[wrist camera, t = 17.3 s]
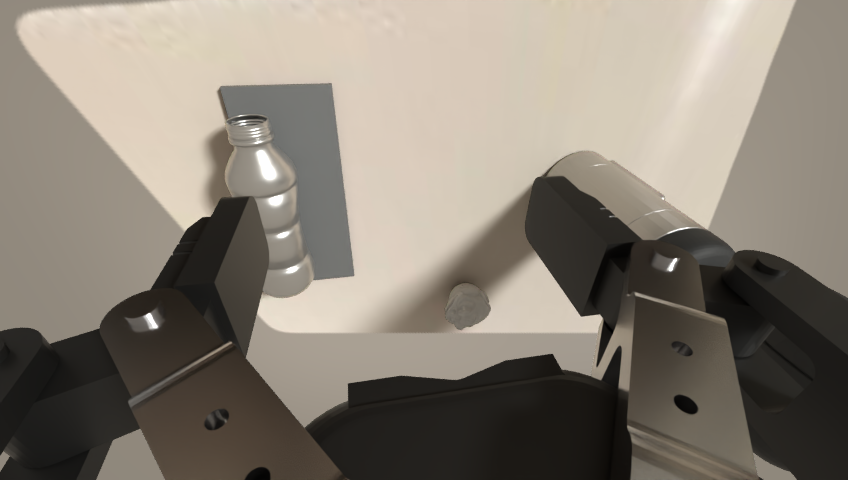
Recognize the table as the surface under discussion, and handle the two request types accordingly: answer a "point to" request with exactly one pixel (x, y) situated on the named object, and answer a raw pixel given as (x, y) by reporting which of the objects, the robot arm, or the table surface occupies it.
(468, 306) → the grey cupcake
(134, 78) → the table surface
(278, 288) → the plastic bottle
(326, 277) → the charcoal rubber mat
